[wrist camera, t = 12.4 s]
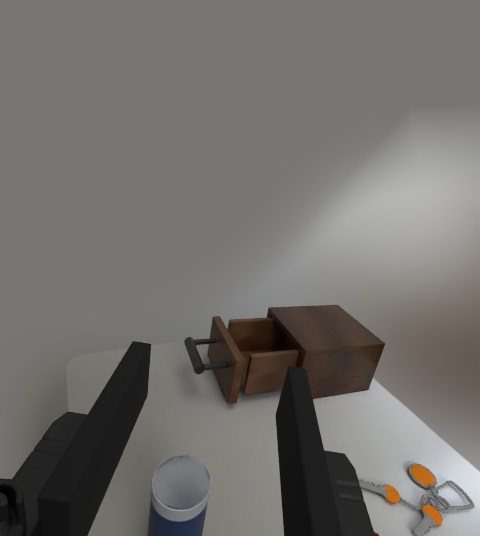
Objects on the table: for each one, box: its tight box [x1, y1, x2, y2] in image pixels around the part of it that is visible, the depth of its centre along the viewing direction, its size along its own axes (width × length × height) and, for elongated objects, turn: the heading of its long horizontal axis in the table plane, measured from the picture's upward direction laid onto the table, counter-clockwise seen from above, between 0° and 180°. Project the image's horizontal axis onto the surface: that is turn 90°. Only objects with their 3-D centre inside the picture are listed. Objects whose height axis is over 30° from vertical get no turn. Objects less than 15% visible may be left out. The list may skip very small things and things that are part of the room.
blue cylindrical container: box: [148, 455, 212, 536], centre depth 28 cm, size 5×5×10 cm
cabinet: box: [267, 305, 385, 399], centre depth 58 cm, size 15×13×9 cm
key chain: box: [359, 463, 474, 536], centre depth 39 cm, size 13×7×1 cm, turn 109°
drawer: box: [184, 316, 302, 404], centre depth 53 cm, size 18×12×7 cm, turn 110°
